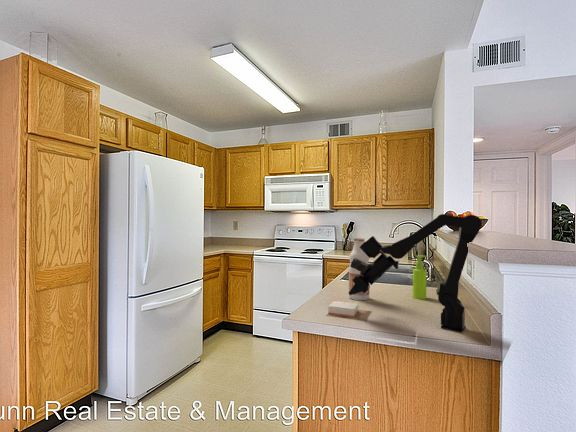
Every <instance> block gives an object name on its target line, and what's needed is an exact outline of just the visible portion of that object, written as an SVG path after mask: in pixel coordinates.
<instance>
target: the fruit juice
mask: <svg viewBox="0 0 576 432" xmlns="http://www.w3.org/2000/svg"><path fill="white" fill-rule="evenodd" d="M364 242H366V241H365V238H361V237H360V238H359V237H356V238H353V243H354V245H353V248H352V251H351V252H350V254H349V255H348V258H349V262H350V263H349V266H348V267H349V268H348V292H349V291H350V290H351V289H352V287H353V286H354V284H355V283H354V282H353V279H354V278H355V277H356V276H357V275H361V274H360V271H358V270H356V269H355V268H352V267H350V265H351V262H352V261H353V259H354V258H357V259H359V260H361V261H363V262H365V263H366V264H368V265H369V261H370V258H369V257H368V256H367V255H366V254H365V253H364V252H363V251H362V250H361V249H360V248H359V247H360V246H361V245H362V244H363V243H364ZM348 297H349V299H350V300H354V301H367V300H369V299H370V288H369V289H368V290H367V291H366V292H365V293H364V292H359V293H356V294H353V295H349V294H348Z"/></svg>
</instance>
